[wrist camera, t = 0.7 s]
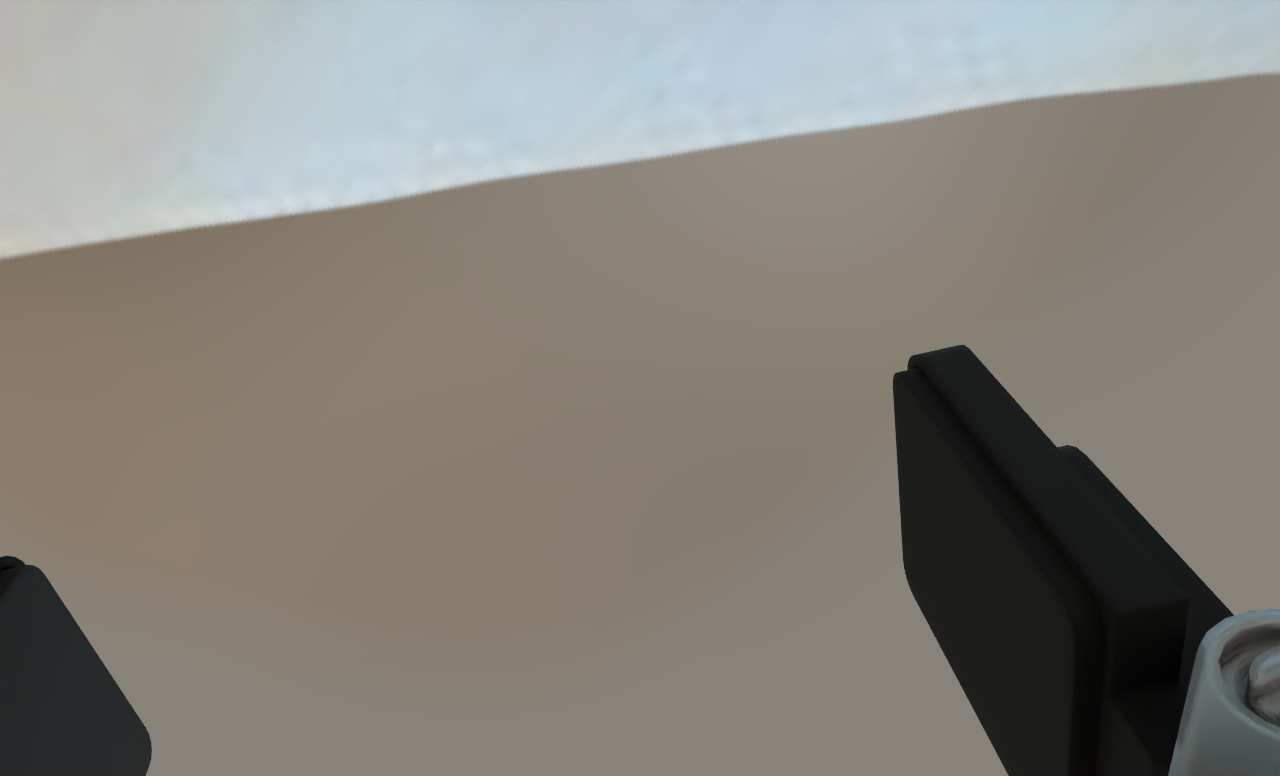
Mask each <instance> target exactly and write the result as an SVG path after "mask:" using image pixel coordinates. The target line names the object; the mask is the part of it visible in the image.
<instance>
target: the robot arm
mask: <svg viewBox="0 0 1280 776" xmlns="http://www.w3.org/2000/svg"><path fill="white" fill-rule="evenodd" d="M893 394H894V412H895V429H896V444H897V445H896V446H897V463H898V480H899V497H900V514H901V531H902V547H903V562H904V569H905V574H906V577H907V581H908V583H909V586H910V589H911V591H912V594H913V596H914V598H915V600H916V601H917V603H918V605H919V607H920V609H921V611H922V613H923V615H924V616H925V618H926V620H927V622H928V624H929V626H930V628H931V630H932V632H933V634H934V636H935V637H936V639H937V641H938V643H939V645H940V647H941V649H942V651H943V652H944V654H945V656H946V658H947V660H948V662H949V664H950V666H951V667H952V670H953V671H954V673H955V675H956V677H957V679H958V681H959V683H960V685H961V686H962V688H963V690H964V692H965V694H966V696H967V698H968V700H969V702H970V704H971V705H972V707H973V709H974V711H975V713H976V715H977V717H978V718H979V721H980V722H981V724H982V726H983V728H984V730H985V732H986V734H987V736H988V737H989V739H990V741H991V743H992V745H993V747H994V749H995V750H996V753H997V755H998V756H999V758H1000V760H1001V762H1002V764H1003V766H1004V768H1005V770H1006V771H1007V773H1008V775H1009V776H1280V609H1278V610H1257V611H1248V612H1245V613H1242V614H1238V615H1235V616H1234V615H1233V614H1232V613H1231V611H1230V610H1229V609H1228V608H1227V607H1226V606H1225V605H1224V604H1223V603H1222V602H1221V601H1220V599H1218V597H1217V596H1216V595H1215V594H1214V593H1213V592H1212V591H1211V590H1210V589H1209V588H1208V587H1207V585H1206V584H1205V583H1204V582H1203V581H1202V580H1201V579H1200V578H1199V577H1198V576H1197V575H1196V574H1195V572H1194V571H1193V570H1192V569H1191V568H1190V567H1189V566H1188V565H1187V564H1186V563H1185V562H1184V561H1183V559H1182V558H1181V557H1180V556H1179V555H1178V554H1177V553H1176V552H1175V551H1174V550H1173V549H1172V548H1171V546H1169V544H1168V543H1167V542H1166V541H1165V540H1164V539H1163V538H1162V537H1161V536H1160V535H1159V534H1158V532H1157V531H1156V530H1155V529H1154V528H1153V527H1152V526H1151V525H1150V524H1149V523H1148V522H1147V520H1146V519H1145V518H1144V517H1143V516H1142V515H1141V514H1140V513H1139V512H1138V511H1137V510H1136V509H1135V507H1134V506H1133V505H1132V504H1131V503H1130V502H1129V501H1128V500H1127V499H1126V498H1125V497H1124V496H1123V494H1122V493H1121V492H1120V491H1119V490H1118V489H1117V488H1116V487H1115V486H1114V485H1113V484H1112V483H1111V481H1110V480H1109V479H1108V478H1107V477H1106V476H1105V475H1104V474H1103V473H1102V472H1101V471H1100V470H1099V468H1097V467H1096V465H1095V464H1094V463H1093V462H1092V461H1091V460H1090V459H1089V458H1088V457H1087V456H1086V455H1085V454H1084V453H1083V452H1082V451H1080V450H1079V449H1078V448H1077V447H1073V446H1069V445H1066V446H1062V447H1056V446H1055V445H1054V444H1053V442H1052V441H1051V440H1050V439H1049V438H1048V437H1047V436H1046V435H1045V433H1043V431H1042V430H1041V429H1040V428H1039V427H1038V426H1037V424H1036V423H1035V422H1034V421H1033V420H1032V419H1031V418H1030V417H1029V415H1028V414H1027V413H1026V412H1025V411H1024V410H1023V409H1022V408H1021V406H1020V405H1019V404H1018V403H1017V402H1016V401H1015V400H1014V398H1013V397H1012V396H1011V395H1010V394H1009V393H1008V392H1007V391H1006V389H1005V388H1004V387H1003V386H1002V385H1001V384H1000V383H999V382H998V380H997V379H996V378H995V377H994V376H993V375H992V374H991V373H990V371H989V370H988V369H987V368H986V367H985V366H984V365H983V364H982V362H981V361H980V360H979V359H978V358H977V357H976V356H975V355H974V353H973V352H972V351H971V350H970V349H969V348H968V347H966V346H965V345H958V346H954V347H949V348H944V349H940V350H935V351H931V352H926V353H922V354H918V355H913V356H911V357H910V359H909V362H908V370H907V371H902V372H898V373H895V375H894V378H893ZM151 752H152V749H151V740H150V737H149V733H148V731H147V729H146V727H145V726H144V724H143V723H142V722H141V720H140V718H139V717H138V715H137V714H136V712H135V711H134V710H133V708H132V706H131V705H130V703H129V702H128V700H127V699H126V697H125V696H124V694H123V693H122V691H121V690H120V688H119V687H118V685H117V684H116V682H115V680H114V679H113V678H112V676H111V675H110V673H109V672H108V670H107V668H106V667H105V665H104V664H103V662H102V661H101V660H100V658H99V656H98V655H97V653H96V652H95V650H94V649H93V647H92V646H91V645H90V643H89V641H88V640H87V638H86V637H85V635H84V634H83V632H82V630H81V629H80V627H79V626H78V625H77V623H76V621H75V620H74V618H73V617H72V615H71V614H70V612H69V611H68V609H67V608H66V607H65V605H64V603H63V602H62V600H61V599H60V597H59V596H58V594H57V593H56V591H55V590H54V588H53V587H52V585H51V583H50V582H49V580H48V579H47V577H46V576H45V575H44V573H43V572H42V571H41V570H40V569H39V568H37V567H35V566H33V565H25V564H24V562H23V561H21V560H19V559H18V558H16V557H11V556H4V557H0V776H146V773H147V770H148V768H149V765H150V761H151Z"/></svg>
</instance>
